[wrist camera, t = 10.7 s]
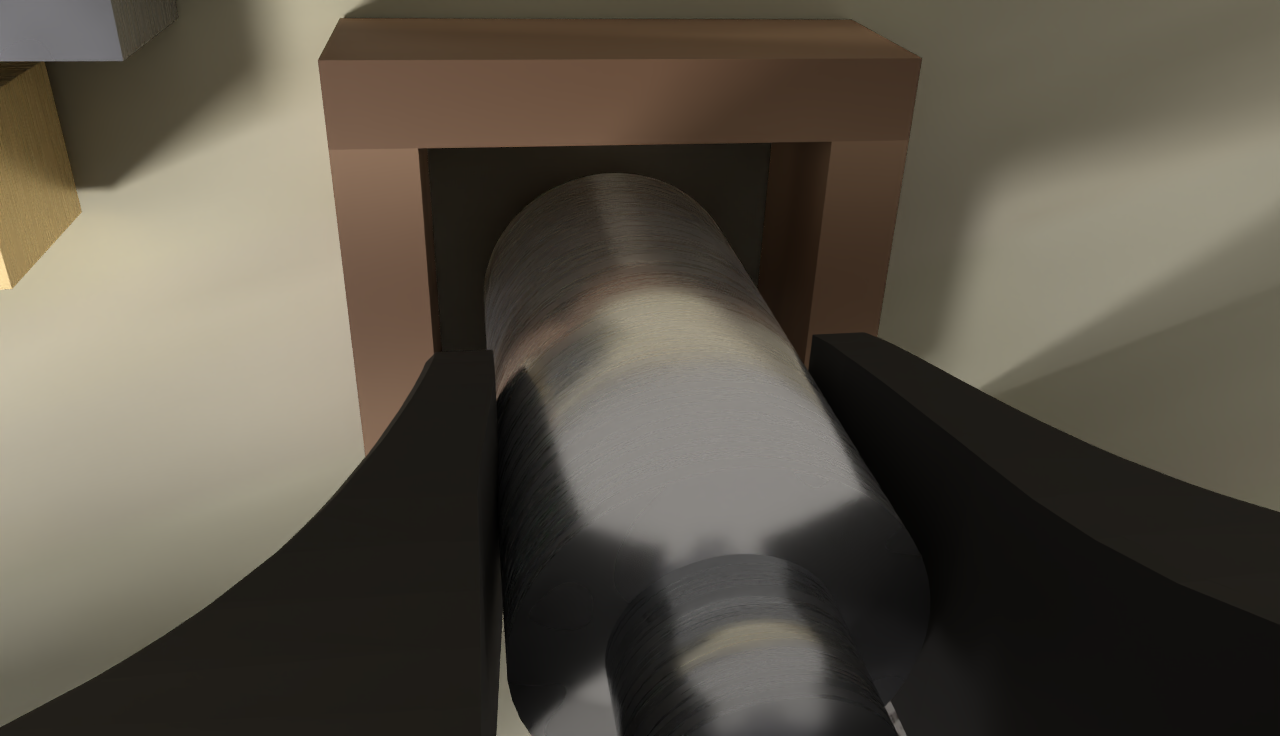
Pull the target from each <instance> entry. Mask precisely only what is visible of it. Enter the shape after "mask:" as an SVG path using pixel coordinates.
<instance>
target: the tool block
mask: <svg viewBox="0 0 1280 736" xmlns="http://www.w3.org/2000/svg"><path fill="white" fill-rule="evenodd" d="M177 18H178V13H177V8H176V2H175V0H0V61H124V60H125V59H127V58H128V57H129V56H130V55H132V54H133V53H134V52H135V51H137V50H138V49H139V48H141V47H142V46H143V45H144V44H146V43H147V42H148V41H149V40H151V39H152V38H153V37H155V36H156V35H157V34H158V33H160V32H161V31H162V30H163V29H165V28H166V27H167V26H169V25H170V24H171V23H172V22H174V21H175V20H176V19H177Z"/></svg>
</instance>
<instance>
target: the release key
mask: <svg viewBox="0 0 1280 736" xmlns="http://www.w3.org/2000/svg"><path fill="white" fill-rule="evenodd" d="M81 212H82V211H81V207H80V203H79V199H78V195H77V191H76V187H75V183H74V178H73V174H72V170H71V166H70V162H69V158H68V154H67V150H66V146H65V142H64V138H63V134H62V130H61V126H60V122H59V118H58V114H57V110H56V106H55V102H54V98H53V94H52V90H51V86H50V81H49V77H48V73H47V69H46V65H45V61H0V289H12V288H13V287H14V286H15V285H16V284H17V283H18V282H19V281H20V280H21V279H22V277H23V276H24V275H25V274H26V273H27V272H28V271H29V270H30V269H31V267H32V266H33V265H34V264H35V263H36V262H37V261H38V260H39V259H40V258H41V256H42V255H43V254H44V253H45V252H46V251H47V250H48V249H49V248H50V246H51V245H52V244H53V243H54V242H55V241H56V240H57V239H58V238H59V237H60V235H61V234H62V233H63V232H64V231H65V230H66V229H67V228H68V227H69V225H70V224H71V223H72V222H73V221H74V220H75V219H76V218H77V217H78V216H79V214H80V213H81Z"/></svg>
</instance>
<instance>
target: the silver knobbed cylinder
mask: <svg viewBox="0 0 1280 736" xmlns="http://www.w3.org/2000/svg"><path fill="white" fill-rule="evenodd" d="M484 311H485V327H486V343H487V350H493V356H494V366H495V381H496V403H497V426H498V449H499V462H498V497H497V517H498V535H499V551H500V567H501V583H502V599H503V615H504V631H505V647H506V663H507V679H508V684H509V689H510V693H511V697H512V701H513V703H514V705H515V708H516V710H517V712H518V715H519V717H520V719H521V721H522V722H523V724H524V725H525V727H526V728H527V730H528V731H529V733H530V734H531V735H532V736H899V735H898V733H897V731H896V729H895V727H894V725H893V723H892V721H891V719H890V716H889V714H888V712H887V710H886V708H885V706H886V705H887V704H888V703H889V702H890V700H891V699H892V698H893V697H894V696H895V694H896V693H897V691H898V690H899V689H900V687H901V686H902V684H903V683H904V682H905V680H906V679H907V677H908V675H909V673H910V672H911V670H912V668H913V666H914V664H915V662H916V661H917V659H918V656H919V653H920V651H921V648H922V646H923V643H924V640H925V637H926V632H927V628H928V623H929V619H930V602H931V596H930V587H929V579H928V575H927V571H926V568H925V565H924V562H923V558H922V556H921V554H920V552H919V550H918V549H917V547H916V545H915V543H914V541H913V539H912V537H911V536H910V534H909V533H908V531H907V529H906V528H905V526H904V525H903V523H902V521H901V520H900V518H899V516H898V515H897V513H896V512H895V510H894V508H893V507H892V505H891V504H890V502H889V500H888V499H887V497H886V496H885V494H884V492H883V491H882V489H881V487H880V486H879V484H878V483H877V481H876V479H875V478H874V476H873V475H872V473H871V471H870V470H869V468H868V467H867V465H866V463H865V462H864V460H863V458H862V457H861V455H860V454H859V452H858V450H857V449H856V447H855V446H854V444H853V442H852V441H851V439H850V438H849V436H848V434H847V433H846V431H845V430H844V428H843V426H842V425H841V423H840V421H839V420H838V418H837V417H836V415H835V413H834V412H833V410H832V409H831V407H830V405H829V404H828V402H827V401H826V399H825V397H824V396H823V394H822V392H821V391H820V389H819V388H818V386H817V384H816V383H815V381H814V380H813V378H812V376H811V375H810V373H809V372H808V370H807V368H806V367H805V365H804V363H803V362H802V360H801V359H800V357H799V355H798V354H797V352H796V351H795V349H794V347H793V346H792V344H791V343H790V341H789V339H788V338H787V336H786V335H785V333H784V331H783V330H782V328H781V326H780V325H779V323H778V322H777V320H776V318H775V317H774V315H773V314H772V312H771V310H770V309H769V307H768V306H767V304H766V302H765V301H764V299H763V297H762V296H761V294H760V293H759V291H758V289H757V288H756V286H755V285H754V283H753V281H752V280H751V278H750V277H749V275H748V273H747V272H746V270H745V268H744V267H743V265H742V264H741V262H740V260H739V259H738V257H737V256H736V254H735V252H734V251H733V249H732V248H731V246H730V244H729V243H728V241H727V240H726V238H725V236H724V235H723V233H722V231H721V230H720V228H719V227H718V225H717V224H716V222H715V221H714V220H713V218H712V217H711V216H710V214H709V213H708V212H707V211H706V210H705V209H704V208H703V207H702V206H701V205H700V204H699V203H698V202H697V201H695V200H694V199H693V198H691V197H690V196H689V195H687V194H686V193H685V192H683V191H681V190H679V189H678V188H676V187H674V186H672V185H670V184H668V183H665V182H662V181H660V180H657V179H654V178H650V177H646V176H642V175H636V174H627V173H603V174H597V175H590V176H585V177H582V178H578V179H575V180H571V181H568V182H566V183H564V184H561V185H559V186H557V187H554V188H552V189H551V190H549V191H547V192H546V193H544V194H542V195H540V196H539V197H537V198H536V199H535V200H534V201H532V202H531V203H530V204H528V205H527V206H526V207H525V208H524V209H523V210H522V211H521V212H520V213H519V214H518V215H517V216H516V217H515V218H514V219H513V220H512V221H511V222H510V224H509V225H508V226H507V228H506V229H505V230H504V232H503V233H502V235H501V236H500V238H499V240H498V242H497V244H496V245H495V247H494V250H493V252H492V255H491V257H490V260H489V262H488V267H487V271H486V275H485V282H484Z"/></svg>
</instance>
